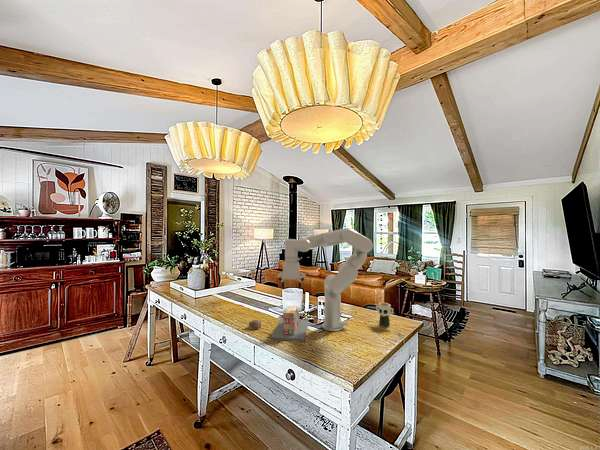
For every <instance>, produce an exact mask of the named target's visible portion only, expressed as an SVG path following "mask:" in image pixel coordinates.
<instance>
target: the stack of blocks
mask: <svg viewBox="0 0 600 450" xmlns="http://www.w3.org/2000/svg"><path fill="white" fill-rule="evenodd" d="M284 310H285V311H284V313H283V312H282V319H283V334H284V335H294V334H295V332H296V329H297V326H298V323H299V320H300V306H297V305H287V306H286V308H285V309H284Z"/></svg>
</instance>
